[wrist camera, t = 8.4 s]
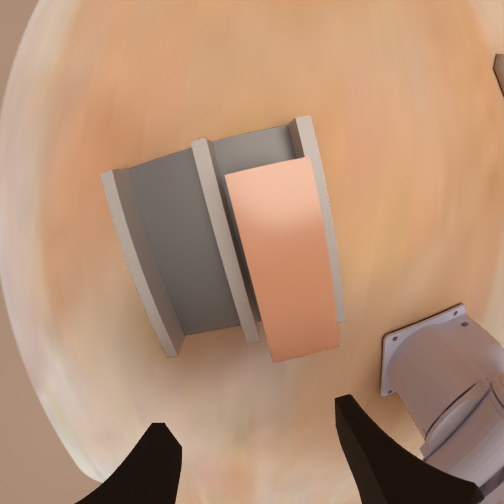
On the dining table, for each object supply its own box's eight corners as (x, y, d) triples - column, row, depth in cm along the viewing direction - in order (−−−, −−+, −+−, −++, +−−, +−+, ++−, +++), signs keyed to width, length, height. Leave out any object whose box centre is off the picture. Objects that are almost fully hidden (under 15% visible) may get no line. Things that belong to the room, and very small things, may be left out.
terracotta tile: (307, 284, 18) (339, 346, 11) (263, 295, 18) (273, 362, 11) (282, 161, 16) (309, 156, 9) (232, 173, 16) (224, 175, 9)
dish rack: (297, 125, 16) (310, 115, 13) (330, 296, 19) (345, 320, 16) (124, 172, 16) (100, 174, 13) (177, 329, 20) (167, 357, 17)
